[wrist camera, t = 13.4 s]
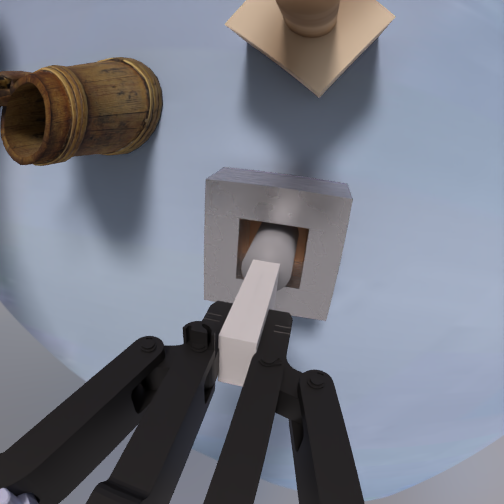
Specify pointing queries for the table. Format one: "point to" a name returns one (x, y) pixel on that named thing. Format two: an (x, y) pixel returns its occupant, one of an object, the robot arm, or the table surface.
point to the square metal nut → (279, 212)
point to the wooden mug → (78, 110)
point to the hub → (275, 247)
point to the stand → (311, 34)
